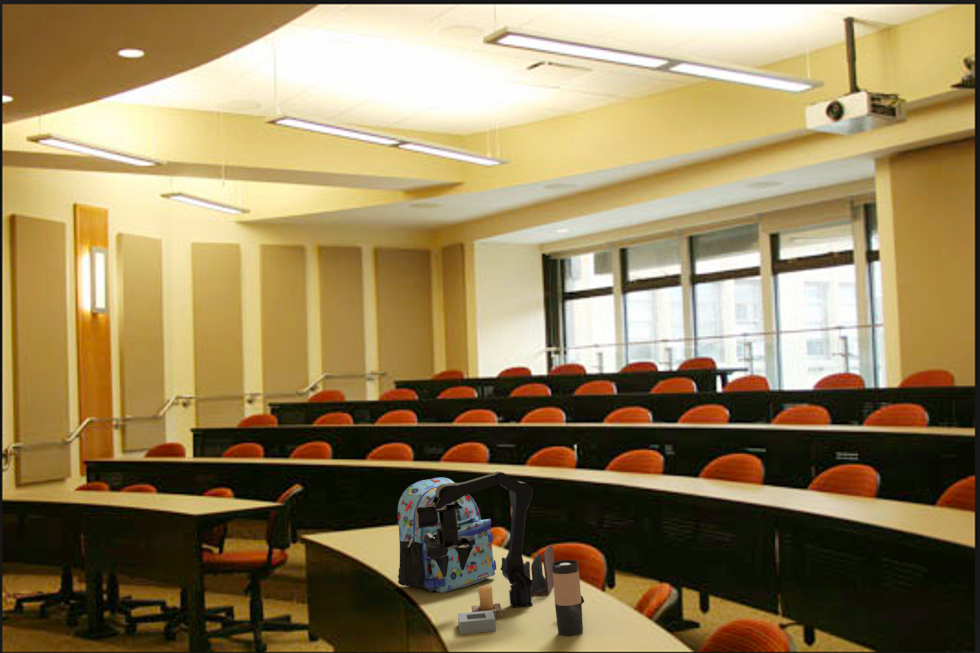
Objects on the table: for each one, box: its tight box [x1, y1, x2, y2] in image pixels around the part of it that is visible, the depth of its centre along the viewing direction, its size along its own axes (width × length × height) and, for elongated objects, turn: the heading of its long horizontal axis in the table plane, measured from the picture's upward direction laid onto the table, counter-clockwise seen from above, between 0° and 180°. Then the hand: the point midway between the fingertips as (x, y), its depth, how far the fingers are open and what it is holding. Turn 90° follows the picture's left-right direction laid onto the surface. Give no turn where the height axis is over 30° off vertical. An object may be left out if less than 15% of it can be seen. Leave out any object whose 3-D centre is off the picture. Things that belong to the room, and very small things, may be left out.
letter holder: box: [524, 544, 556, 597], centre depth 348 cm, size 10×20×14 cm, turn 169°
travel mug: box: [552, 559, 584, 637], centre depth 290 cm, size 8×8×20 cm
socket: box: [457, 610, 497, 635], centre depth 303 cm, size 11×11×4 cm
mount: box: [470, 602, 504, 620], centre depth 316 cm, size 9×9×2 cm
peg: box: [477, 584, 494, 611], centre depth 316 cm, size 4×4×9 cm
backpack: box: [397, 477, 497, 594], centre depth 369 cm, size 34×25×38 cm
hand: (453, 573), depth 322 cm, fingers open, 9 cm apart
